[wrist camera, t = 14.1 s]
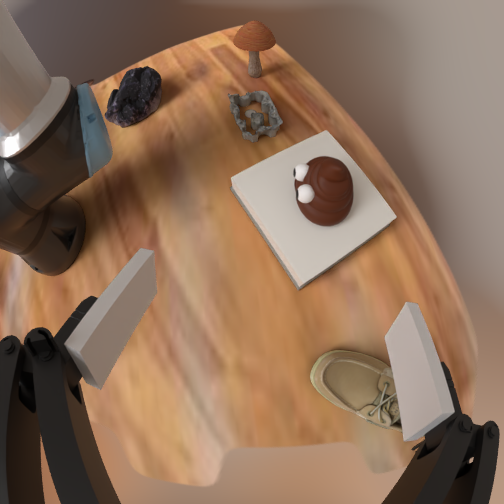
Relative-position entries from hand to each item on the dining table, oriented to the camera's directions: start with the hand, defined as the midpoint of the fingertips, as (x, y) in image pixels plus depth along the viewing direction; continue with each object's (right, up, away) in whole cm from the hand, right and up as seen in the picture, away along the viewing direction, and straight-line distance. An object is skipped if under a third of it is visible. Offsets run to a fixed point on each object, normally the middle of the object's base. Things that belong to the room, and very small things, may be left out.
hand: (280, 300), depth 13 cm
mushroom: (-1, +39, +36) cm, 53 cm away
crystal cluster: (-26, +33, +35) cm, 55 cm away
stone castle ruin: (-1, +26, +33) cm, 42 cm away
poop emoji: (+8, +10, +25) cm, 28 cm away
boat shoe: (+18, -19, +22) cm, 34 cm away
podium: (+8, +9, +28) cm, 31 cm away
